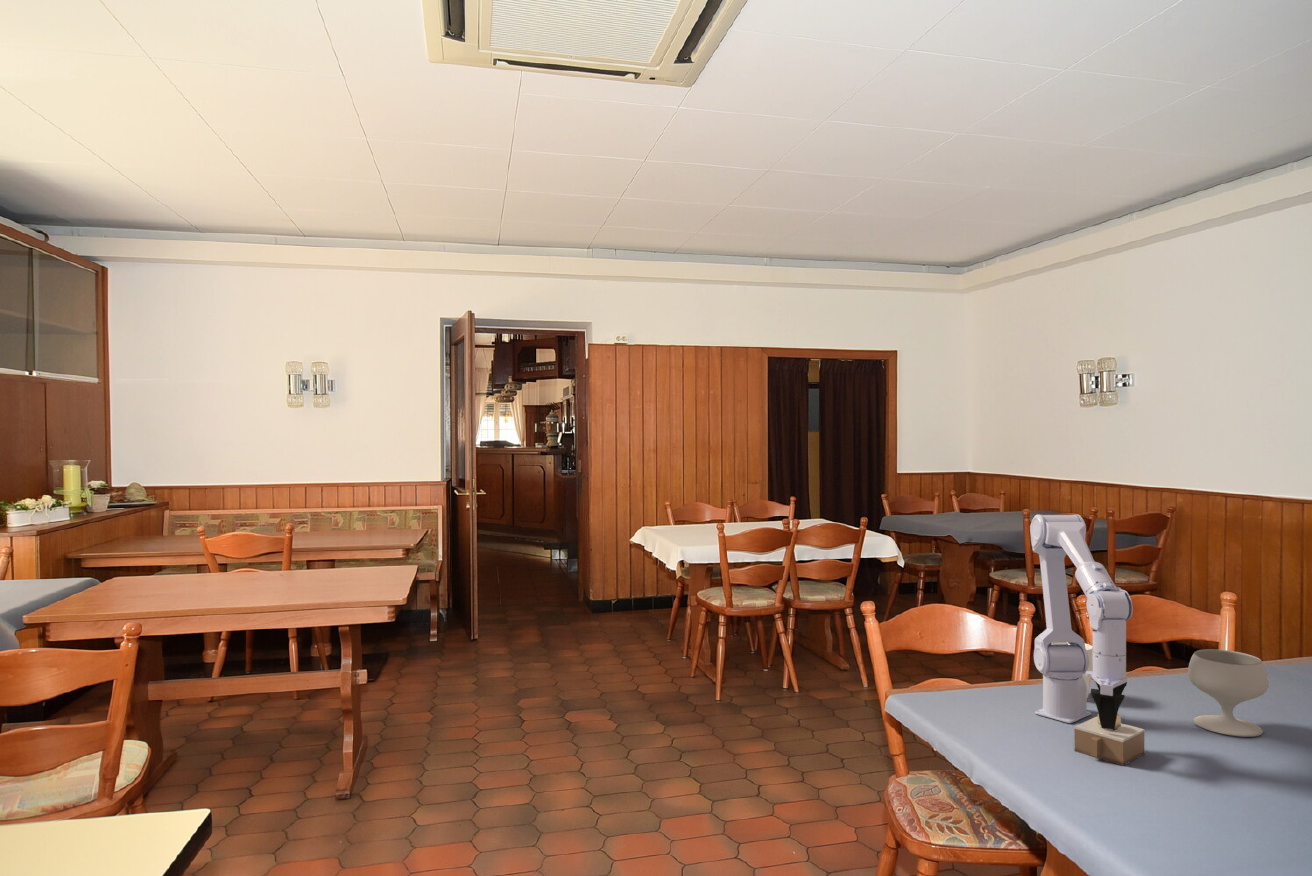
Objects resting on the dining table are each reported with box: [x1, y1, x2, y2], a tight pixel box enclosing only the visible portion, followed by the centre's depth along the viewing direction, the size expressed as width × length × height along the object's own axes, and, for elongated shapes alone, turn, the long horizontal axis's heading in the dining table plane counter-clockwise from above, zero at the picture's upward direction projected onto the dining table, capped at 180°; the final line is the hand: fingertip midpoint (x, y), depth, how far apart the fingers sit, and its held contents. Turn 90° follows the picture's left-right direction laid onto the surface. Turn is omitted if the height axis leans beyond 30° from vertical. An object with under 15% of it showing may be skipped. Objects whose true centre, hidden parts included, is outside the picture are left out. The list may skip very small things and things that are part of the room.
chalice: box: [1187, 648, 1270, 738], centre depth 172 cm, size 14×14×15 cm
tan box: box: [1074, 716, 1145, 766], centre depth 159 cm, size 11×9×5 cm
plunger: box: [1097, 713, 1122, 731], centre depth 160 cm, size 4×4×6 cm
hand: (1109, 722), depth 160 cm, fingers open, 7 cm apart
